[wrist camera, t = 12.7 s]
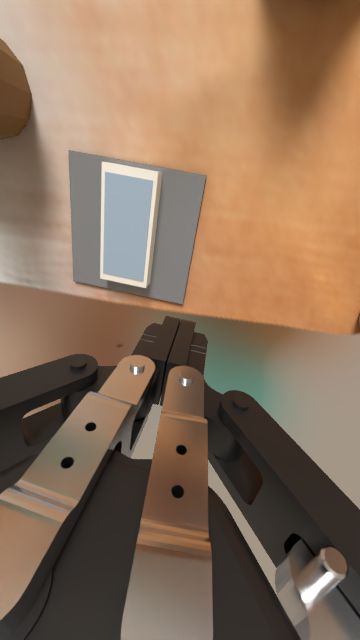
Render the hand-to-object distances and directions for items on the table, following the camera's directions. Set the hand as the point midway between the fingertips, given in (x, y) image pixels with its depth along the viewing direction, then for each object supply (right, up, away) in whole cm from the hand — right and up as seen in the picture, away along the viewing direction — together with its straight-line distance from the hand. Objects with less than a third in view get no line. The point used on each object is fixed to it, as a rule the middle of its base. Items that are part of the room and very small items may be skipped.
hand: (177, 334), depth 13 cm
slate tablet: (-8, +7, +27) cm, 29 cm away
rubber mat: (-7, +13, +25) cm, 29 cm away
